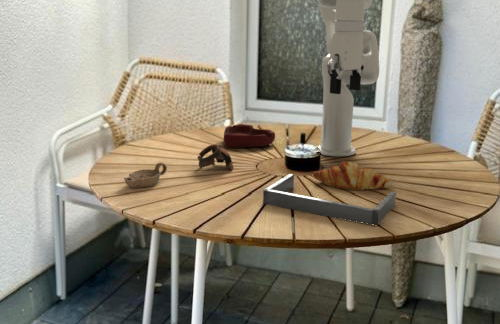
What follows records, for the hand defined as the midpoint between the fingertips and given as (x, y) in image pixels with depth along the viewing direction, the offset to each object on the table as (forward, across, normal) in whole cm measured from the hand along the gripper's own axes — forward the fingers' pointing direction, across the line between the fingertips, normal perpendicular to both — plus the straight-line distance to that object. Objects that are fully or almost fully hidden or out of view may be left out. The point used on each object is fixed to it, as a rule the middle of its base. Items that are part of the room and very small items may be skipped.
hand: (345, 91), depth 161 cm
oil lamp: (+24, +44, -33) cm, 60 cm away
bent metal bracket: (+24, +23, +12) cm, 35 cm away
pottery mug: (+24, +20, -29) cm, 43 cm away
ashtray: (+24, -5, -42) cm, 48 cm away
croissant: (+24, +6, +8) cm, 26 cm away
